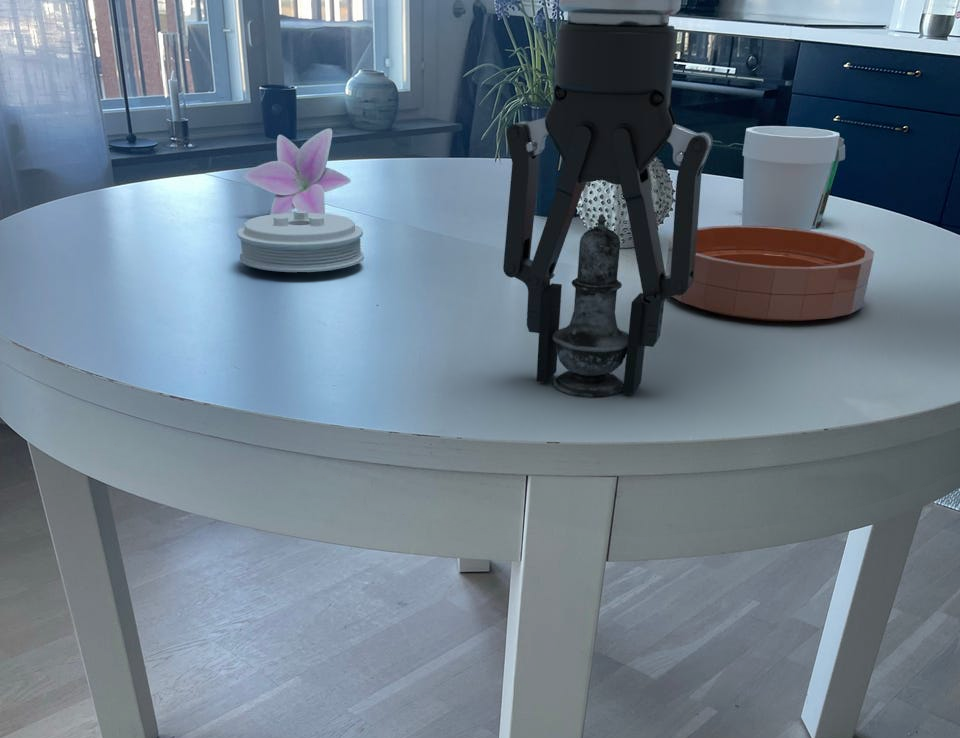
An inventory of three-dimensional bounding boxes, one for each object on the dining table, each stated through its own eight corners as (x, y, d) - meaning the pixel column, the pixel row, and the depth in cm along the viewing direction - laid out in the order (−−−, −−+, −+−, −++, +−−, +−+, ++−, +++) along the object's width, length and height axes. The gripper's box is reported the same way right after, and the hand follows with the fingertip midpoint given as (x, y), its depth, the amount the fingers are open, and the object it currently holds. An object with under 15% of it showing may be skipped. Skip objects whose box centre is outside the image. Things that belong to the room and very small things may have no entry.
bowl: (865, 287, 103) (877, 235, 100) (856, 336, 88) (869, 277, 85) (683, 269, 108) (689, 219, 105) (646, 312, 93) (652, 255, 90)
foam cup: (760, 276, 106) (783, 138, 99) (709, 257, 113) (727, 127, 106) (832, 269, 109) (859, 136, 102) (778, 251, 116) (800, 125, 109)
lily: (240, 224, 128) (226, 157, 120) (302, 175, 133) (293, 107, 124) (312, 267, 125) (302, 201, 116) (373, 216, 130) (368, 149, 121)
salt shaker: (615, 371, 79) (630, 205, 72) (637, 396, 74) (656, 222, 67) (541, 373, 78) (550, 206, 71) (559, 399, 73) (571, 223, 67)
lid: (215, 272, 103) (209, 219, 100) (287, 248, 112) (283, 200, 110) (321, 288, 98) (317, 233, 95) (386, 262, 108) (385, 211, 105)
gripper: (455, 15, 63) (452, 380, 75) (764, 26, 58) (706, 416, 70) (495, 14, 69) (486, 352, 81) (778, 23, 64) (723, 383, 76)
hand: (588, 381), depth 76 cm, fingers closed on salt shaker, 6 cm apart
